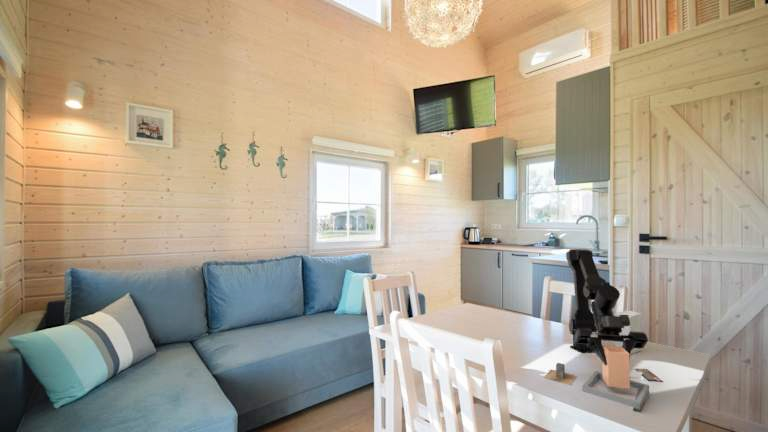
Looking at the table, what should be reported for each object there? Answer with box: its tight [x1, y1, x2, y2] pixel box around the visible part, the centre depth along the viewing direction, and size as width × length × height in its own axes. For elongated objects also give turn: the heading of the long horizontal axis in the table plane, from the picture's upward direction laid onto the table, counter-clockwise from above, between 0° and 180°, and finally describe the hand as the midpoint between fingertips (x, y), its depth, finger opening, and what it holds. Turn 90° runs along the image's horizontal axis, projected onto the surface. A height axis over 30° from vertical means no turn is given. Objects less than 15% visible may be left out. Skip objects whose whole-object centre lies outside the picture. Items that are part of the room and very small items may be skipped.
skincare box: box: [614, 309, 643, 355], centre depth 138 cm, size 8×6×15 cm
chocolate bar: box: [633, 368, 664, 383], centre depth 117 cm, size 11×5×1 cm, turn 169°
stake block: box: [543, 362, 578, 386], centre depth 114 cm, size 8×8×5 cm
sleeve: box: [601, 345, 631, 390], centre depth 105 cm, size 5×5×10 cm
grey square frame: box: [581, 370, 650, 413], centre depth 105 cm, size 14×14×2 cm
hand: (617, 365), depth 104 cm, fingers closed on sleeve, 5 cm apart
